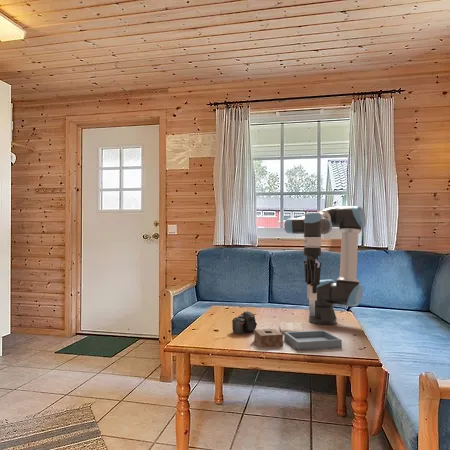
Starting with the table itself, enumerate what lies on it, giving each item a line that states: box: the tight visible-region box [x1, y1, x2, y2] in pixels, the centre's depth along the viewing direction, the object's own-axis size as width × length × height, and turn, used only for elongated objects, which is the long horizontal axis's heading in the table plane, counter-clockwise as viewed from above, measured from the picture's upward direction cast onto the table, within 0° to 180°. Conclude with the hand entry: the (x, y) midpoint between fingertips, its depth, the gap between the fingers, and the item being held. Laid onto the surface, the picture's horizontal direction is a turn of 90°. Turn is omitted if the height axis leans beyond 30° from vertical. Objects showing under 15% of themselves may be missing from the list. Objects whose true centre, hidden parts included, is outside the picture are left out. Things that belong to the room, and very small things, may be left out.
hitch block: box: [253, 328, 284, 348], centre depth 164 cm, size 10×10×5 cm
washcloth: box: [279, 321, 305, 335], centre depth 188 cm, size 12×18×3 cm, turn 172°
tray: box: [283, 329, 343, 352], centre depth 164 cm, size 20×16×4 cm
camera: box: [231, 310, 258, 336], centre depth 184 cm, size 13×10×10 cm
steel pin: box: [308, 284, 315, 317], centre depth 165 cm, size 2×2×14 cm
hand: (312, 299), depth 165 cm, fingers closed on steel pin, 2 cm apart
